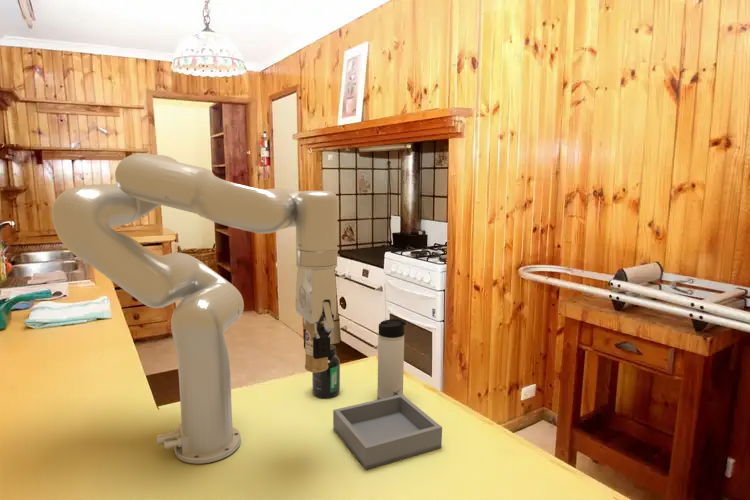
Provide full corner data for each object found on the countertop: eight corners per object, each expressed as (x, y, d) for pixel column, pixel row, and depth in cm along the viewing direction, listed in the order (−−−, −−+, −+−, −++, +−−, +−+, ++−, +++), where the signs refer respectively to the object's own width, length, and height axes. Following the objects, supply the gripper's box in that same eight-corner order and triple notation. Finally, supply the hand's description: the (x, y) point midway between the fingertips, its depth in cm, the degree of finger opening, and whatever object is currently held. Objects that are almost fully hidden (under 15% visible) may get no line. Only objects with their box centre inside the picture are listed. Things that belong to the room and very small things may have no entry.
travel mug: (402, 406, 114) (404, 325, 111) (375, 403, 115) (376, 323, 112) (405, 394, 120) (407, 317, 117) (380, 392, 121) (381, 315, 118)
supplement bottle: (341, 398, 118) (341, 351, 116) (313, 399, 117) (312, 352, 115) (338, 385, 124) (338, 341, 123) (312, 387, 123) (311, 342, 121)
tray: (365, 470, 89) (366, 448, 89) (333, 429, 103) (333, 409, 103) (441, 447, 97) (442, 427, 96) (401, 412, 111) (402, 394, 110)
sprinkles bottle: (299, 368, 92) (299, 300, 89) (317, 361, 95) (317, 296, 93) (316, 375, 89) (316, 305, 86) (333, 368, 92) (334, 300, 90)
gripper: (283, 252, 94) (284, 341, 97) (313, 268, 79) (313, 372, 82) (319, 250, 97) (319, 336, 100) (354, 265, 83) (353, 365, 86)
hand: (316, 351), depth 91 cm, fingers closed on sprinkles bottle, 4 cm apart
